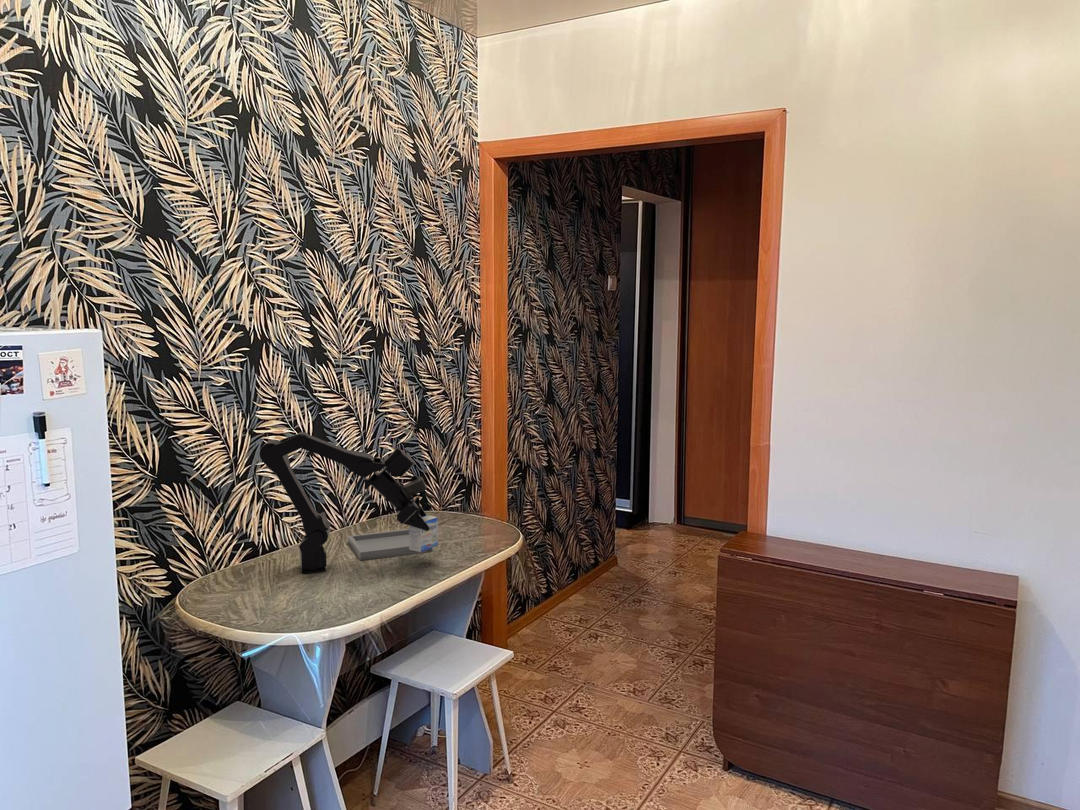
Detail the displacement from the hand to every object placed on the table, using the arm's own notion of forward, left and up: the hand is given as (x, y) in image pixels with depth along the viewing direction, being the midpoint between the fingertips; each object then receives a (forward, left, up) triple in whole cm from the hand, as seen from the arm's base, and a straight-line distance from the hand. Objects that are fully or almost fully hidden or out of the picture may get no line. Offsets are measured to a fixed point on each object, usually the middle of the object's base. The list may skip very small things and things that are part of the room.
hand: (428, 525), depth 217 cm
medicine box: (-1, 0, -7) cm, 7 cm away
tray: (-6, +20, -12) cm, 24 cm away
